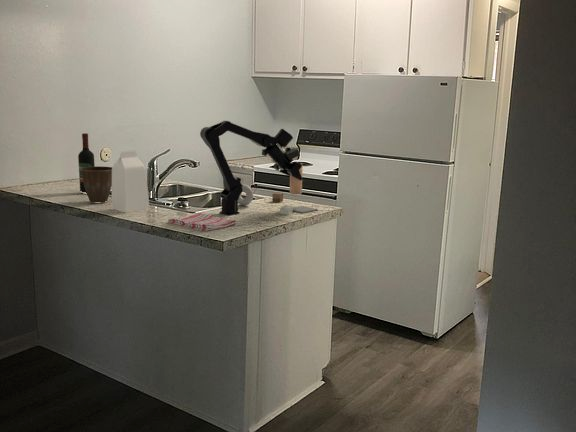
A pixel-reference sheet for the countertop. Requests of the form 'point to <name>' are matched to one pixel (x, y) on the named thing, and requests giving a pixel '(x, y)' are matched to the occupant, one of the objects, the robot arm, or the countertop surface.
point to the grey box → (286, 210)
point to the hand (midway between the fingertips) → (298, 178)
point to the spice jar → (296, 184)
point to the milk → (129, 183)
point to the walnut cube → (277, 197)
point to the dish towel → (202, 222)
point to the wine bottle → (85, 159)
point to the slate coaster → (304, 209)
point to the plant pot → (97, 182)
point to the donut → (248, 196)
